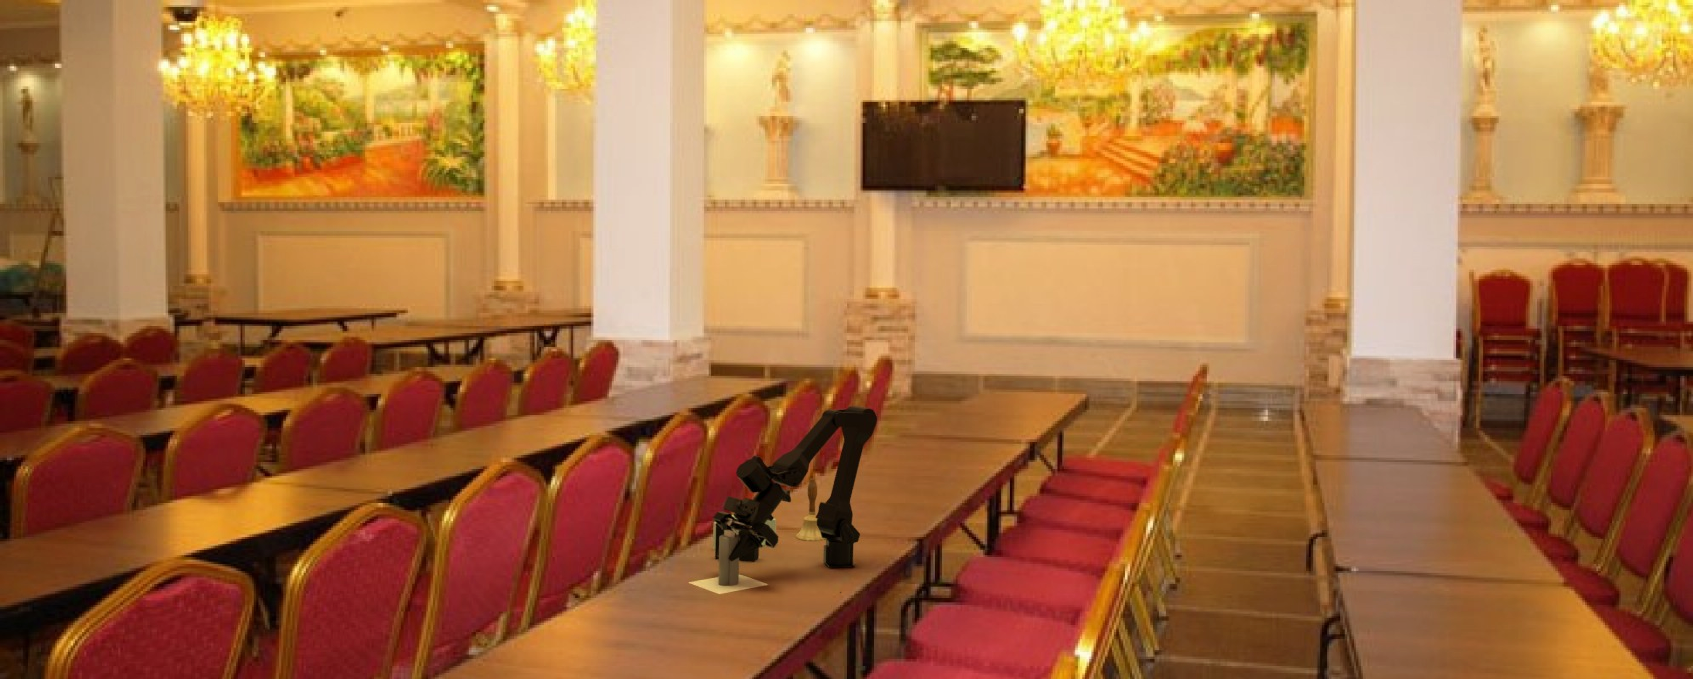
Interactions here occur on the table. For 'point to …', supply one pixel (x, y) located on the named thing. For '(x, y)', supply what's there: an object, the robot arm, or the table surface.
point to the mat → (715, 587)
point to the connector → (727, 567)
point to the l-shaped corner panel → (770, 523)
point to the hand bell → (810, 517)
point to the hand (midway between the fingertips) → (724, 558)
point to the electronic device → (747, 557)
